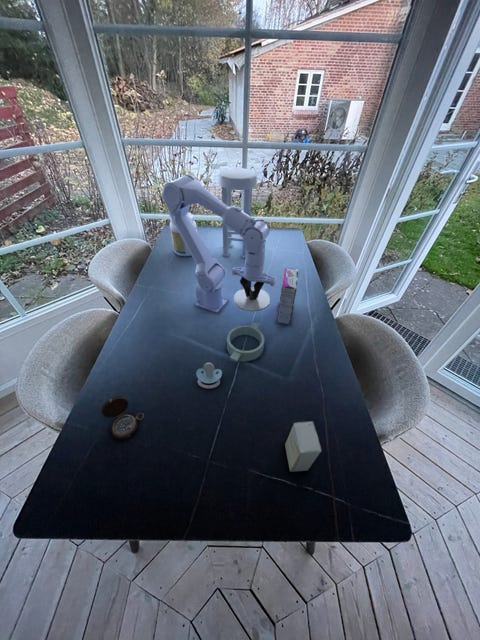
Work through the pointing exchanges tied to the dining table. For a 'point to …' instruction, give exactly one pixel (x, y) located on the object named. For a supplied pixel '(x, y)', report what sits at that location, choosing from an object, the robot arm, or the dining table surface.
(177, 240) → the supplement tub
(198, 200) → the robot arm
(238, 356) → the grey-green ring with tabs
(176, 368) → the dining table surface
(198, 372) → the pacifier
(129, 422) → the compass
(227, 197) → the stool
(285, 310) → the candy bar box
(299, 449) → the cosmetic box
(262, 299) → the lid
